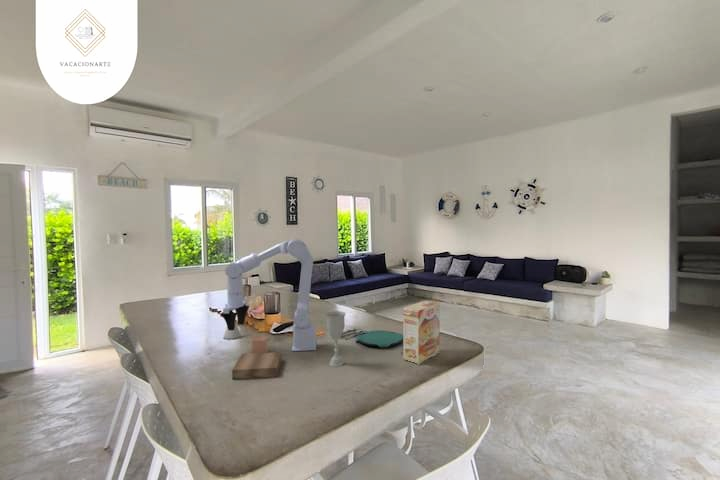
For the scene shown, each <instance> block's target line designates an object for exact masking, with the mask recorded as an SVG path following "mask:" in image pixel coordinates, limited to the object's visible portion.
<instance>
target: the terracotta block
mask: <svg viewBox="0 0 720 480" xmlns="http://www.w3.org/2000/svg"><path fill="white" fill-rule="evenodd" d="M268 338H269V337H268V335H260V336H254V337H253V339H252V340H251V349H252V350H251V354H253V353H269V346H268V342H269V340H268Z"/></svg>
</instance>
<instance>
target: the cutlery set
mask: <svg viewBox="0 0 720 480" xmlns="http://www.w3.org/2000/svg"><path fill="white" fill-rule="evenodd" d="M357 330H362V328H361V329H357ZM357 330H356V329H355V332H354V330H352V329H347V330H346V331H343V333H342V335H341V337H340V339H342V338H344V337H345V338H344V340H346V341H347V340H348V339H350V338H353V337H355V338H354V339H355V341H358V343H361V344H363V345H367V346H371V347H379V348H389V346H390V347H391V346H396V345H398V344H401V343H402V342H403V334H402V333H398V332H393V331H388V330H384V329H381V330H370V331H367V330H365V331H357ZM359 332H360V333H359ZM365 332H366V333H365ZM353 333H354V334H353ZM349 335H350V336H349ZM351 335H352V336H351ZM346 336H349V337H346Z"/></svg>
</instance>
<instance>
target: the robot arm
mask: <svg viewBox="0 0 720 480" xmlns="http://www.w3.org/2000/svg"><path fill="white" fill-rule="evenodd" d="M279 254H281V255H282V254H283V255H286V254H289V255H290V256H292V257H294V258H296V260H297V261H299V263H300V264H301V267H300V268H301V269H300V277H299V278H300V279H299V286H298V288H299V289H298V295H297V296H298V299H297V306H296V307H297V308H296V309H295V311H294V316H293V318H292V319H293V324H292V338H293V340H292V342H293V343H292V347H291V352H302V351H316V350H317V344H318V339H317V325H314V324H312V323H311V318H310V313H311V312H310V310H309V307H310V306H309V305H310V295H311V286H312V276H313V268H314V267H313V266H314V257H313V256H312V254H311V252H310V250H309V248H308V247H307V245H306V243H305V242H303V241H302V240H301V239H299V238H293V239H291V240H286V241H283V242H281V243H278V244H275V245H274V246H272V247H269V248H268V249H266V250H264V251H262V252H260V253H255V252H249V253H246V256H243V257H241V258H236V259H235V261H234V262H230V263H229V264H227V265H226V267H225V268H224V269H225V270H224V272H225V275H226V288H227V289H226V290H227V291H226V292H227V303H225V307H223V308H222V312H221V316H222V318H223V319H224V321H225V323H226V328H227V327H228V330H234V328H235V321H236V319H237V323H238V325H245V322H246V316H247V313H248V311H249V308H250V306H249V305H248V300H247V299H244V290H243V289H244V288H243V287H244V286H243V281H244V280H243V273H245V274H247V273H248V272H250V271H251V270H254V269H255V268H258V267H260V266H261V263H262V262H263V261H265V260H267V259H270V258H272V257H275V256H277V255H279ZM234 311H235V312H234Z"/></svg>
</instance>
